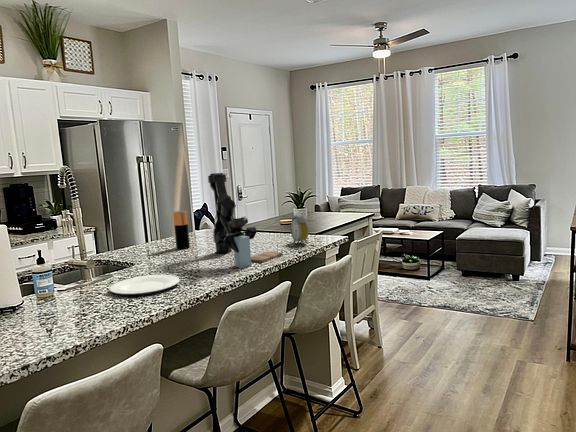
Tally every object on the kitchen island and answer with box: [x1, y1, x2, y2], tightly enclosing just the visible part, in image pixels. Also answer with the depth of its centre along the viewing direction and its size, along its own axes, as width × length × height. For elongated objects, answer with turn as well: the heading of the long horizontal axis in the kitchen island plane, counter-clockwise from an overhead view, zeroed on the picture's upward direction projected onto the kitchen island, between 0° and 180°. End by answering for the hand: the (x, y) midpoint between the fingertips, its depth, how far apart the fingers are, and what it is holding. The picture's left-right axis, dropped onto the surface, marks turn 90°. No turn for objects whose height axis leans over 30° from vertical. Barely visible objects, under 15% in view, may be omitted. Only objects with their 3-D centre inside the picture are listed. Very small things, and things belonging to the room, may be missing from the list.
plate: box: [108, 274, 181, 296], centre depth 168 cm, size 25×25×2 cm
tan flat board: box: [251, 251, 283, 264], centre depth 206 cm, size 16×9×1 cm, turn 147°
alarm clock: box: [290, 213, 310, 246], centre depth 237 cm, size 12×7×15 cm, turn 25°
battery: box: [172, 210, 191, 250], centre depth 241 cm, size 7×7×20 cm
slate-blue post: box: [233, 236, 252, 269], centre depth 193 cm, size 5×5×12 cm
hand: (243, 251), depth 192 cm, fingers closed on slate-blue post, 5 cm apart
